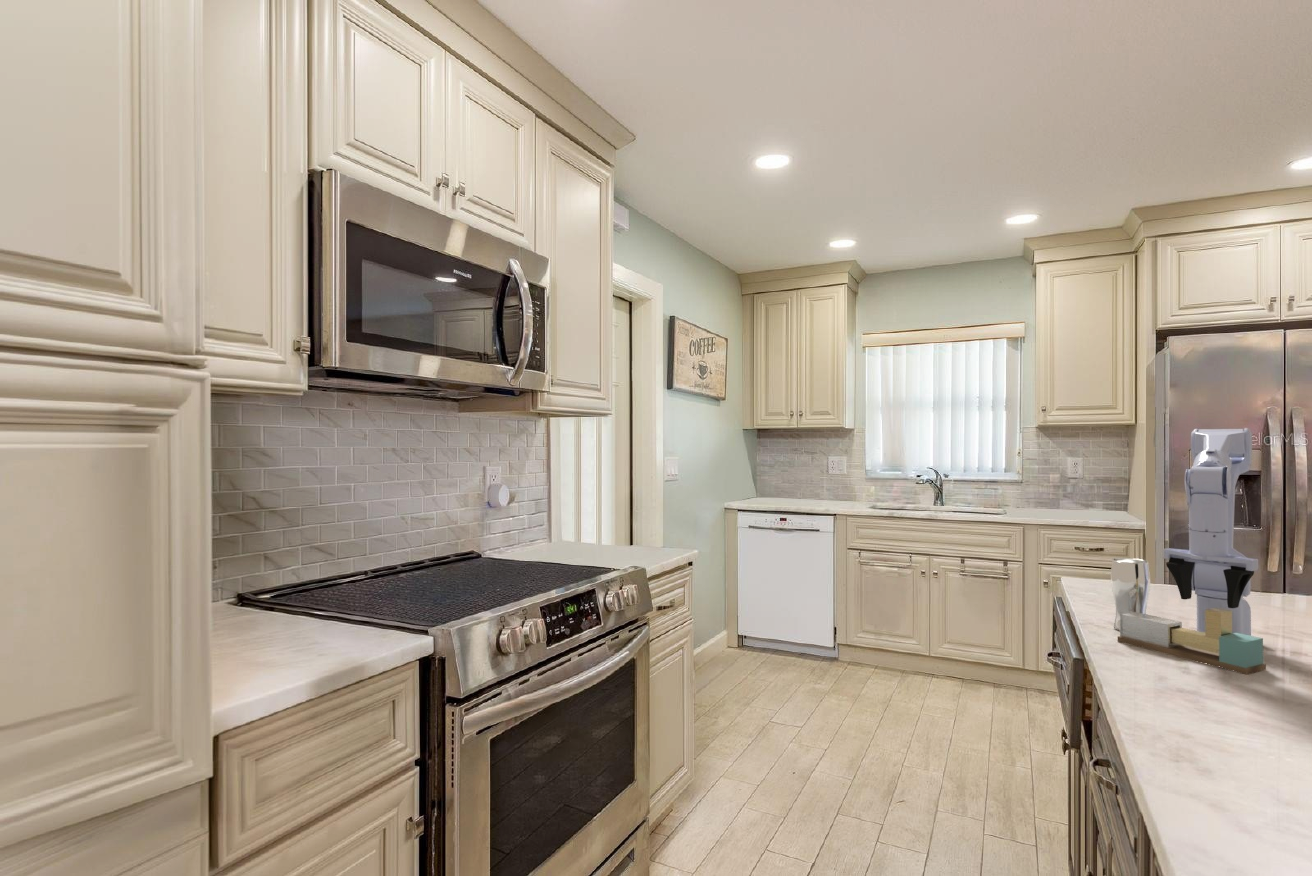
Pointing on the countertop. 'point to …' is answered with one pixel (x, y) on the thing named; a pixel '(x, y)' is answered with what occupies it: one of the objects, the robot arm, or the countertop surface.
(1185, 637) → the wooden l-shaped block
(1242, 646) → the teal rectangular block
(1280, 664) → the countertop surface
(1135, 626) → the white rectangular block
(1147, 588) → the beer glass
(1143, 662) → the countertop surface
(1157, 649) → the board
